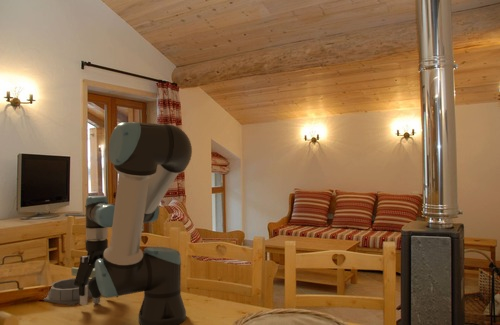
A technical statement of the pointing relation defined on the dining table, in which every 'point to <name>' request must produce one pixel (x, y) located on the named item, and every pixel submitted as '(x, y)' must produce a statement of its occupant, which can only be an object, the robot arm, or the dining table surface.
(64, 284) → the holder
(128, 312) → the dining table surface
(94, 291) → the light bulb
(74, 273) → the pale green square board
